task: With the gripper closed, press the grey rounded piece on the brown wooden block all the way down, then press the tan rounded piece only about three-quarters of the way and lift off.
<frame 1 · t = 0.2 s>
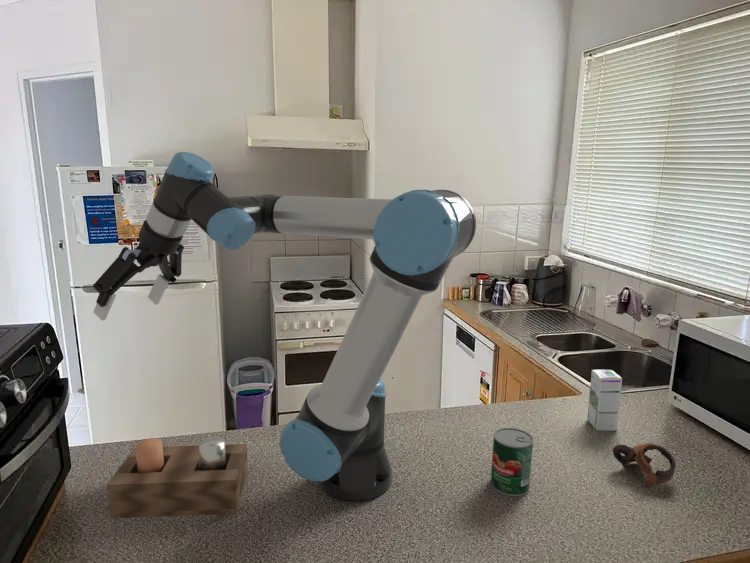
hand: (127, 307, 106), 35 cm above the countertop, fingers open, 13 cm apart
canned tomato: (509, 485, 106), on the countertop
grey rounded piece: (212, 456, 100), point 8 cm above the countertop, slide at 0.0 cm
tan rounded piece: (150, 458, 99), point 8 cm above the countertop, slide at 0.0 cm
brown double ring: (640, 475, 111), on the countertop
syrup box: (601, 426, 132), on the countertop
brown wooden block: (184, 494, 101), on the countertop
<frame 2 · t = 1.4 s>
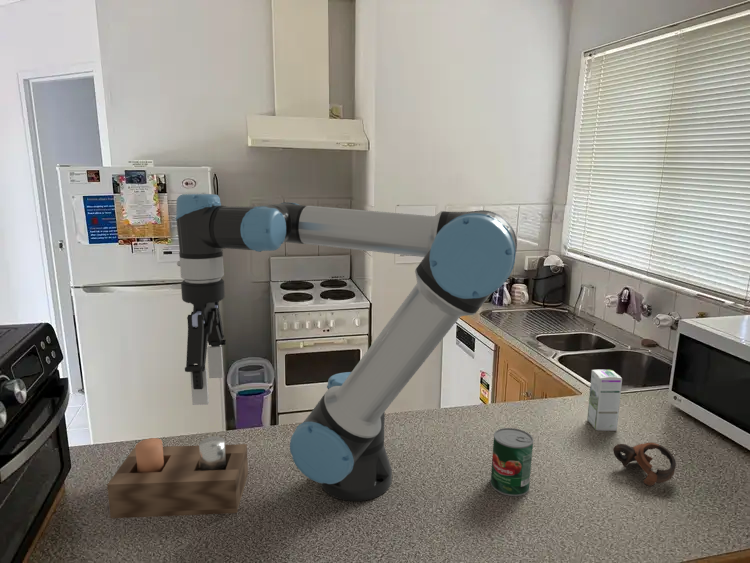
hand: (209, 389, 97), 22 cm above the countertop, fingers open, 12 cm apart
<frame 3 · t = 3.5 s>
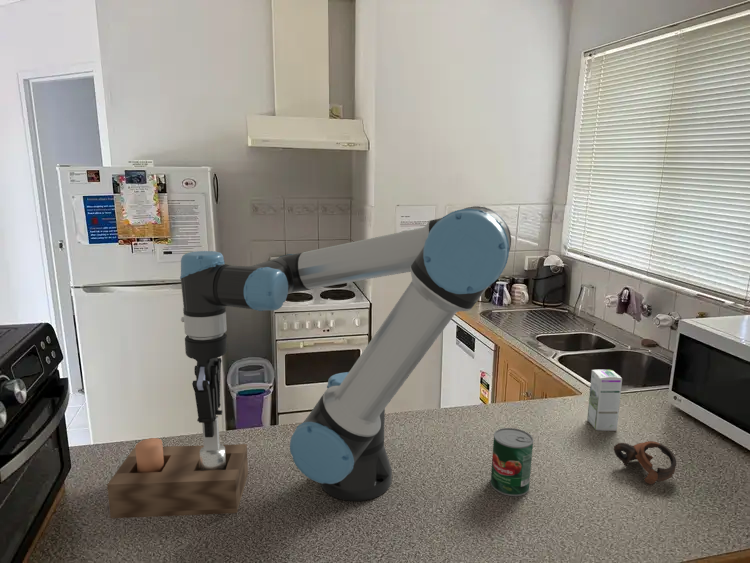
hand: (211, 448, 100), 10 cm above the countertop, fingers closed
grey rounded piece: (213, 463, 100), point 7 cm above the countertop, slide at 1.6 cm, touching gripper
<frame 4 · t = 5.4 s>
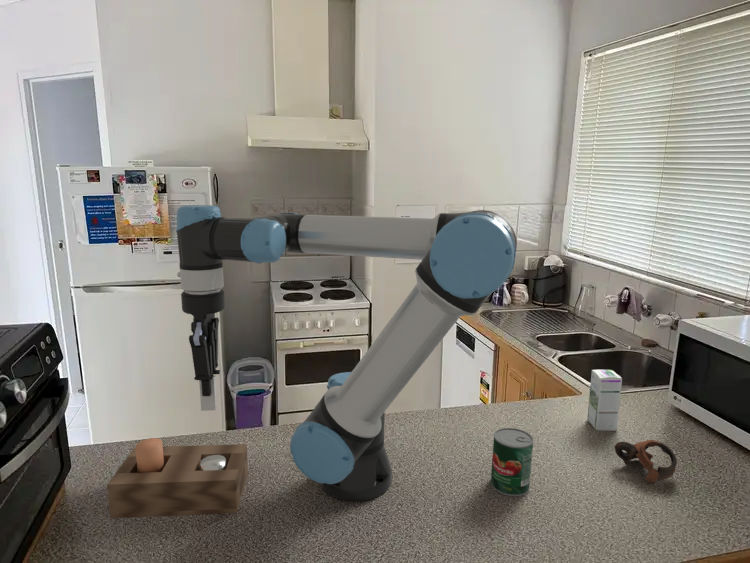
hand: (209, 408, 98), 18 cm above the countertop, fingers closed
grey rounded piece: (213, 475, 101), point 4 cm above the countertop, slide at 4.1 cm
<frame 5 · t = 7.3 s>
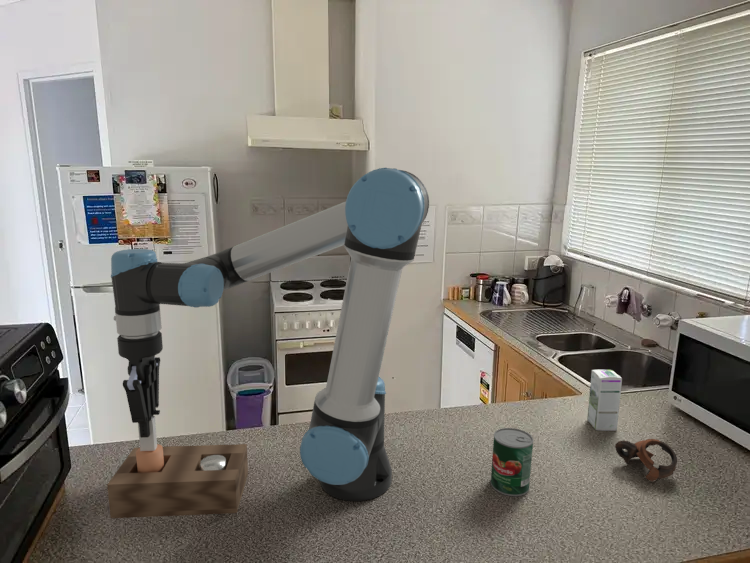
hand: (148, 448, 99), 10 cm above the countertop, fingers closed
tan rounded piece: (150, 464, 99), point 7 cm above the countertop, slide at 1.2 cm, touching gripper
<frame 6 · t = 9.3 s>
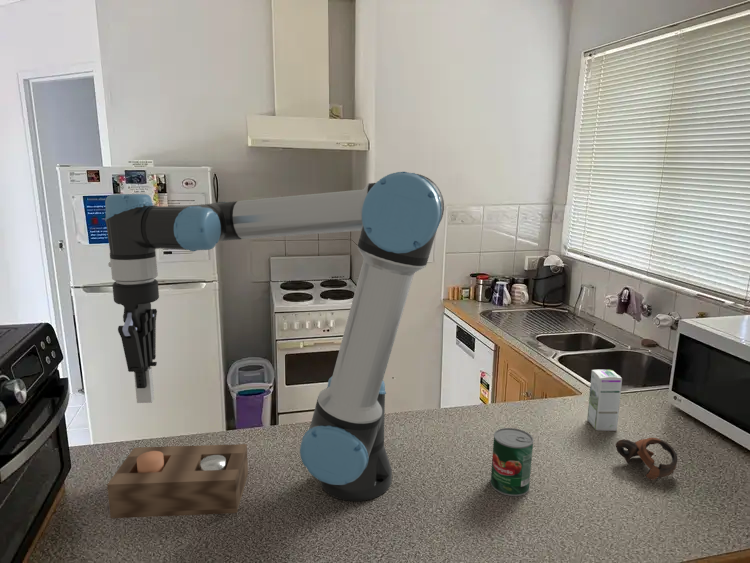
hand: (145, 401, 97), 20 cm above the countertop, fingers closed
tan rounded piece: (151, 471, 100), point 5 cm above the countertop, slide at 2.8 cm
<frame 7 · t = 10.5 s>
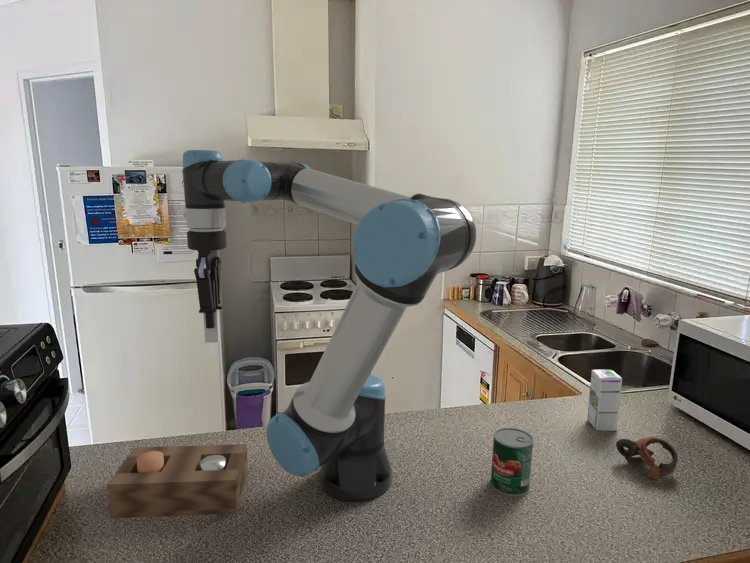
hand: (212, 341, 107), 28 cm above the countertop, fingers closed
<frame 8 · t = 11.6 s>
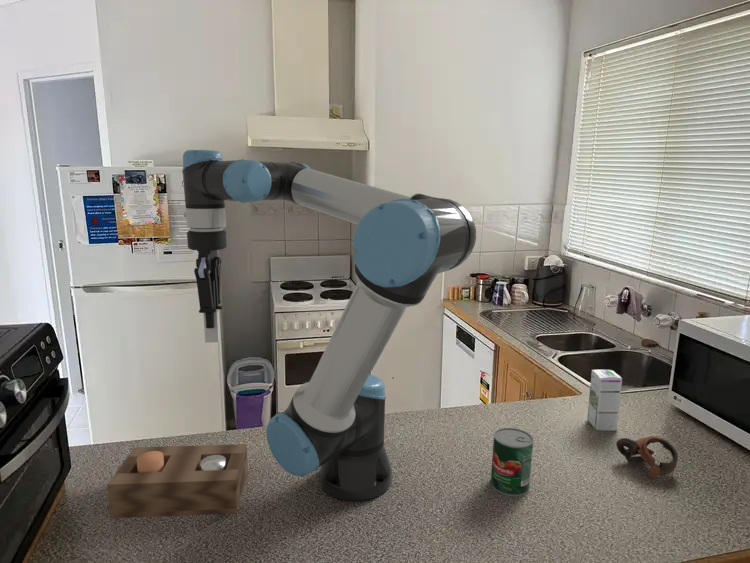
hand: (212, 341, 107), 28 cm above the countertop, fingers closed
at the end: grey rounded piece slide at 4.1 cm; tan rounded piece slide at 2.8 cm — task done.
